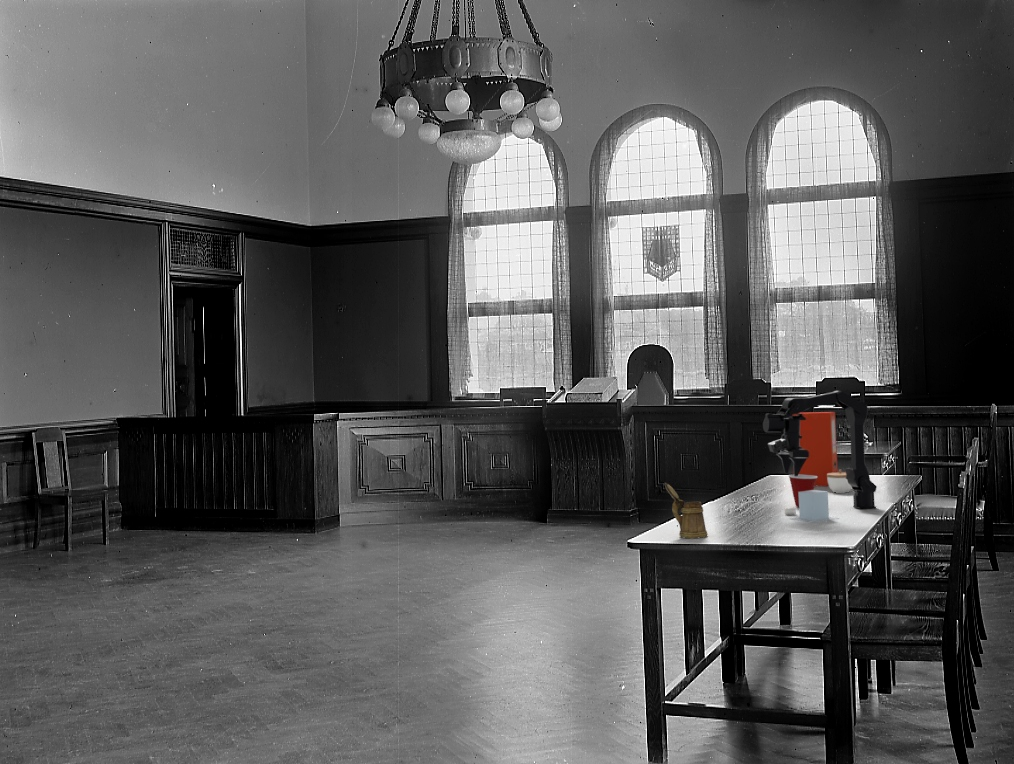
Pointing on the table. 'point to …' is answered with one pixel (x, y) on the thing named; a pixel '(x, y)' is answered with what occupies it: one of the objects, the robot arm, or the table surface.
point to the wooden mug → (688, 516)
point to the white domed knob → (790, 510)
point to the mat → (814, 521)
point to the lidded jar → (838, 482)
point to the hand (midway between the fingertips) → (791, 474)
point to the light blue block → (813, 505)
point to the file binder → (819, 445)
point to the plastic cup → (801, 485)
